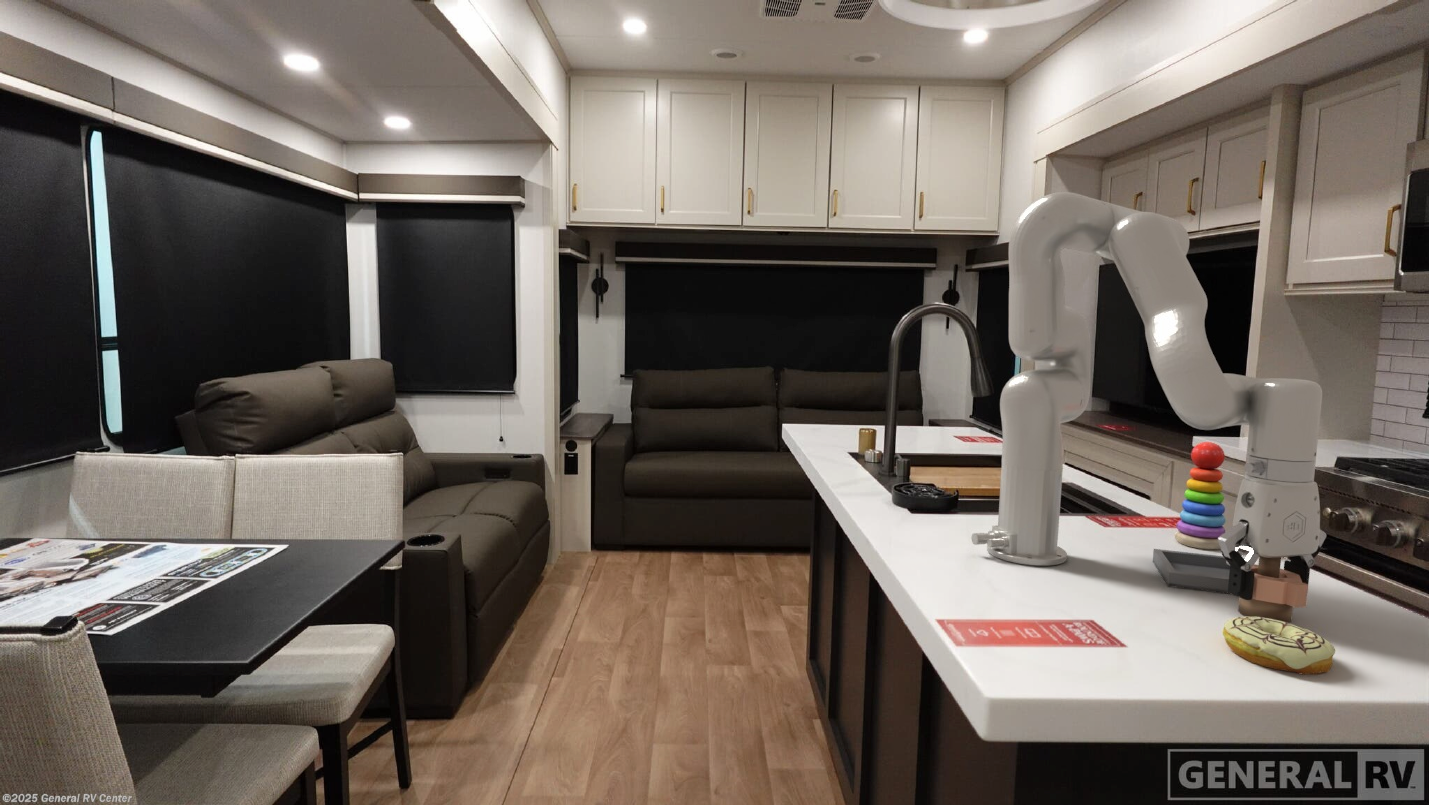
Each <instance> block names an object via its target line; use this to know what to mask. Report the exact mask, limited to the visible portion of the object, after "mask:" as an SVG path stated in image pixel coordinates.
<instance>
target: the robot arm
mask: <svg viewBox="0 0 1429 805" xmlns="http://www.w3.org/2000/svg"><path fill="white" fill-rule="evenodd" d="M1189 248H1190V237H1189V234H1188V231H1187V228H1185V226H1184V225H1183V224H1182V223H1181V222H1180V221H1179V220H1177V219H1175V218H1173V217H1170V216H1166V215H1163V214H1160V213H1157V212H1152V211H1151V212H1150V211H1140V210H1137V209H1133V208H1129V207H1125V206H1122V205H1118V204H1114V203H1112V202H1107V201H1103V200H1100V199H1096V198H1093V197H1089V196H1087V195H1083V194H1080V193H1077V192H1069V191H1060V192H1059V191H1058V192H1054V193H1053V192H1052V193H1050V194H1046V195H1044V196H1041V197H1039V198H1038V199H1036V200H1035V201H1033V202H1032V203H1030V205H1028V206H1027V207H1026V208H1024V210H1023V211H1022V212H1021V214H1020V215H1019V216H1018V218H1017V220H1015V223H1014V225H1013V227H1012V230H1011V232H1010V236H1009V241H1008V272H1009V274H1008V275H1009V281H1008V282H1009V283H1008V284H1009V286H1008V287H1009V288H1008V343H1009V347H1010V350H1011V351H1012V352H1013V354H1014V355H1015V356H1016V357H1018V358H1019V359H1022V360H1024V361H1029V362H1034V369H1029V370H1025V371H1022V372H1019V373H1018V374H1016V375H1013V376H1012V377H1011V378H1009V380H1008V381H1007V382H1006V383H1005V385H1004V386H1003V388H1002V390H1001V393H1000V399H999V412H1000V418H1001V419H1000V420H1001V429H1002V430H1001V432H1002V446H1001V447H1002V449H1001V451H1002V453H1001V471H1000V485H999V486H1000V489H999V504H998V506H999V507H998V520H997V525H991V530H989V531H988V532H987V533H985V532H974V533H972V535H971V537H970V538H971V543H972V544H973V545H975V546H978V545H985V544H986V551H987V552H988V553H989V554H990V555H992V556H993V557H994V558H998V559H1000V560H1003V561H1007V562H1011V563H1015V564H1021V565H1027V566H1028V565H1029V566H1038V567H1040V566H1043V567H1044V566H1057V565H1060V564H1063V563H1065V562H1066V561H1067V557H1068V556H1067V555H1068V553H1067V551H1066V550H1065V549H1063V548H1062V547H1061V546H1058V540H1059V527H1060V525H1059V524H1060V516H1061V515H1060V513H1061V500H1062V499H1061V498H1062V485H1063V469H1064V467H1063V465H1064V443H1063V442H1064V441H1063V435H1062V428H1061V424H1063V423H1069V422H1071V421H1074V420H1076V419H1077V418H1078V417H1080V416H1082V414H1083V413H1084V412H1085V410H1086V409H1087V406H1088V404H1089V402H1090V394H1091V366H1092V365H1091V364H1092V363H1091V359H1092V356H1091V353H1092V352H1091V351H1092V349H1091V347H1092V344H1091V342H1092V341H1091V332H1090V328H1089V327H1090V326H1089V325H1088V323H1087V320H1086V319H1085V317H1084V316H1083V315H1082V314H1081V313H1080V312H1079V311H1078V310H1076V309H1075V308H1073V307H1070V306H1067V305H1066V304H1065V300H1066V299H1065V289H1066V288H1065V287H1066V284H1065V283H1066V277H1065V276H1066V275H1065V271H1064V267H1063V263H1062V257H1061V255H1062V250H1064V249H1067V250H1073V251H1078V252H1084V253H1086V254H1087V253H1088V254H1091V255H1095V256H1098V257H1102V258H1105V259H1108V260H1110V261H1111V260H1112V261H1113V262H1114V264H1115V265H1116V268H1117V270H1118V272H1119V275H1120V276H1121V278H1122V281H1123V282H1124V283H1125V286H1126V288H1127V291H1128V293H1129V294H1130V296H1131V299H1132V301H1133V303H1134V305H1135V307H1136V309H1137V311H1138V313H1139V315H1140V317H1141V320H1142V322H1143V325H1144V331H1145V332H1144V334H1145V340H1146V343H1147V347H1148V348H1147V349H1148V353H1149V358H1150V361H1151V365H1152V367H1153V370H1154V372H1155V375H1156V378H1157V380H1158V382H1159V384H1160V386H1161V388H1162V390H1163V392H1164V394H1165V397H1166V398H1167V400H1168V402H1169V404H1170V406H1171V408H1172V409H1173V411H1174V412H1175V414H1176V415H1177V416H1178V418H1179V419H1180V420H1181V421H1182V422H1184V423H1185V424H1187V425H1188V426H1190V427H1192V428H1194V429H1197V430H1204V431H1213V430H1217V429H1221V428H1226V427H1233V426H1248V435H1247V436H1248V437H1247V445H1246V447H1247V448H1246V457H1245V464H1244V466H1243V470H1244V478H1242V479H1241V484H1240V486H1239V490H1238V494H1237V498H1236V502H1235V508H1234V514H1233V520H1232V527H1230V528H1229V529H1228V530H1226V531H1225V533H1224V534H1222V535H1221V536H1220V537H1219V538H1218V543H1219V546H1220V548H1221V549H1220V550H1221V556H1223V557H1224V558H1225V559H1226V563H1227V565H1229V566H1230V572H1229V583H1228V592H1229V593H1230V594H1229V595H1232V596H1235V597H1238V598H1239V597H1240V598H1242V599H1245V600H1251V599H1252V596H1253V586H1254V575H1255V574H1254V571H1251V568H1252V567H1253V565H1254V564H1255V565H1256V562H1257V561H1258V560H1259V557H1260V556H1262V557H1266V558H1277V557H1281V558H1288V559H1289V560H1287V559H1285V560H1284V563H1283V570H1286V571H1289V572H1292V573H1295V574H1298V575H1299V576H1300V578H1301V580H1302V583H1305V584H1308V585H1309V581H1310V573H1311V572H1310V571H1311V567H1313V566H1314V564H1315V558H1317V556H1318V554H1320V552H1321V547H1322V546H1323V544H1324V541H1325V540H1326V539H1327V533H1326V532H1325V531H1323V530H1322V529H1321V526H1320V525H1321V506H1320V493H1319V487H1318V483H1317V482H1316V481H1315V470H1316V462H1317V461H1316V460H1317V452H1318V442H1319V431H1320V424H1321V423H1320V422H1321V412H1322V404H1323V390H1322V387H1321V385H1320V384H1319V383H1317V382H1316V381H1312V380H1307V379H1301V378H1300V379H1299V378H1279V377H1277V378H1276V377H1273V378H1271V377H1268V378H1259V377H1253V376H1247V375H1242V374H1236V373H1226V372H1225V373H1223V371H1222V369H1221V367H1220V365H1219V363H1218V361H1217V360H1216V357H1215V355H1214V354H1213V351H1212V348H1211V346H1210V343H1209V341H1208V338H1207V334H1206V333H1207V332H1206V327H1205V319H1206V316H1207V315H1206V314H1207V310H1208V298H1207V295H1206V292H1205V291H1204V288H1203V287H1202V285H1201V283H1200V280H1198V277H1197V275H1196V273H1195V272H1194V270H1193V268H1192V266H1191V264H1190V261H1189V260H1188V258H1187V254H1188V253H1189ZM1243 554H1247V555H1246V557H1244V556H1243ZM1244 559H1245V560H1244ZM1308 592H1309V590H1308V591H1307V594H1308Z"/></svg>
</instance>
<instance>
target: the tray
mask: <svg viewBox="0 0 1429 805" xmlns="http://www.w3.org/2000/svg"><path fill="white" fill-rule="evenodd" d="M1244 560H1245V558H1244ZM1152 563H1153V565H1154V566H1155V568H1156V569H1157V571H1158V572H1159V575H1160V576H1161V577H1162V579H1163V580H1164V582H1165V584H1166V585H1167V587H1171V588H1179V589H1187V590H1188V589H1189V590H1194V591H1202V592H1211V593H1219V594H1220V593H1221V594H1228V595H1231V594H1230V593H1229V592H1228V583H1229V572H1230V566H1229V565H1227V563H1226V559H1225V558H1224V557H1223V555H1216V554H1215V555H1214V554H1205V553H1196V552H1188V551H1187V552H1186V551H1180V550H1179V551H1176V550H1167V549H1160V548H1159V549H1158V548H1153V551H1152Z"/></svg>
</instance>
